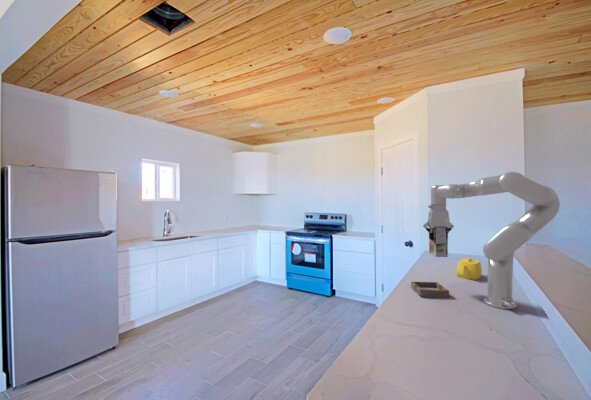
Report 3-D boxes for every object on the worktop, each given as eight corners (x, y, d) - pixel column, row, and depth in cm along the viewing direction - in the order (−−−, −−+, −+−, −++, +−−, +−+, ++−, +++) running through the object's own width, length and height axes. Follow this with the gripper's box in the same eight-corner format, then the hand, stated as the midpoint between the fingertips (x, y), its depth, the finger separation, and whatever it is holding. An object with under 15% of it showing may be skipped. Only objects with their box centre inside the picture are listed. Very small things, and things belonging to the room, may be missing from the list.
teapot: (475, 282, 165) (476, 262, 165) (453, 278, 174) (453, 259, 174) (484, 275, 179) (484, 257, 178) (462, 271, 188) (462, 254, 187)
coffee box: (448, 257, 148) (448, 227, 148) (435, 257, 148) (435, 227, 148) (440, 253, 157) (440, 225, 157) (428, 253, 157) (428, 225, 157)
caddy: (449, 297, 140) (449, 290, 140) (420, 297, 141) (420, 290, 141) (436, 288, 154) (436, 282, 154) (411, 287, 155) (411, 281, 155)
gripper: (424, 207, 149) (424, 240, 150) (458, 207, 147) (458, 241, 148) (419, 207, 157) (419, 238, 157) (452, 207, 155) (451, 239, 155)
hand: (438, 239), depth 152 cm, fingers closed on coffee box, 6 cm apart
